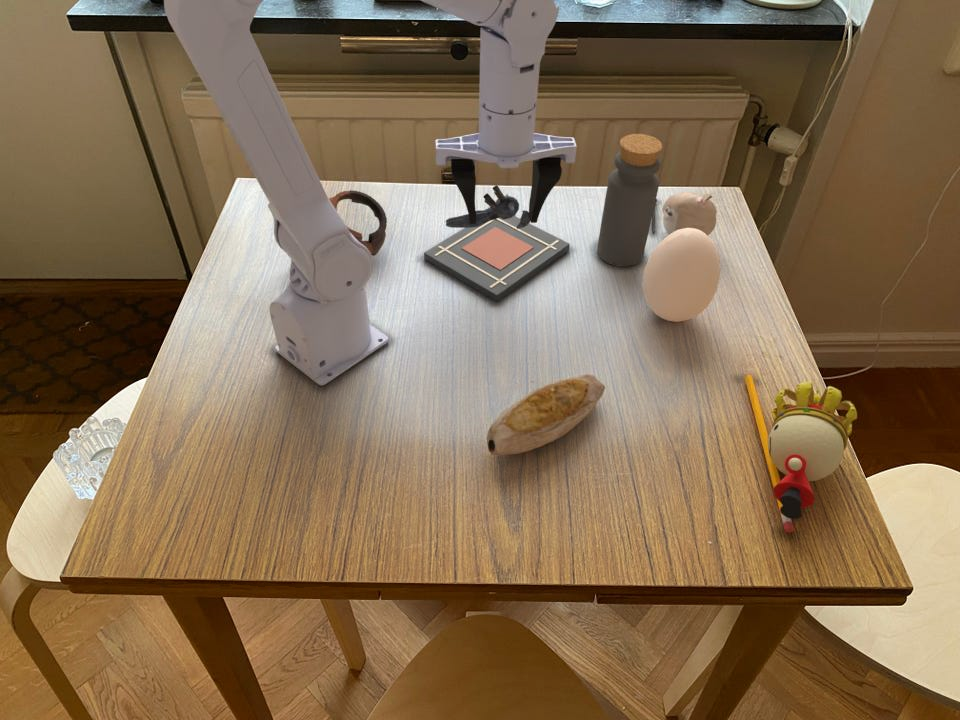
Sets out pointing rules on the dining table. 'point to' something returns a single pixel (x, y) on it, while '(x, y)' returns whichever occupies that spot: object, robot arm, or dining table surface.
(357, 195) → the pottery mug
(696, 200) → the beige apple
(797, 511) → the toy
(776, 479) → the pencil
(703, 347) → the dining table surface
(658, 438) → the dining table surface
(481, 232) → the board
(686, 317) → the egg
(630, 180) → the bottle
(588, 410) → the tan oval piece
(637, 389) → the dining table surface
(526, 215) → the figurine
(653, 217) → the screw
